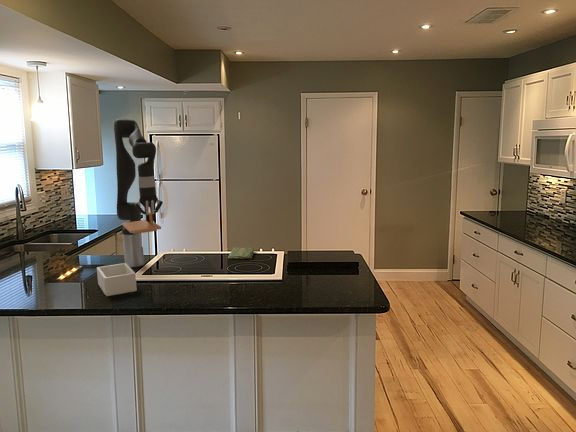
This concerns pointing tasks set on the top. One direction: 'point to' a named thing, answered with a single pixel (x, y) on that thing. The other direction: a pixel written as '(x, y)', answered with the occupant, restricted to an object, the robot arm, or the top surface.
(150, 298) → the top surface
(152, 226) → the snap lid
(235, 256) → the washcloth
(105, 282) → the parts tub
